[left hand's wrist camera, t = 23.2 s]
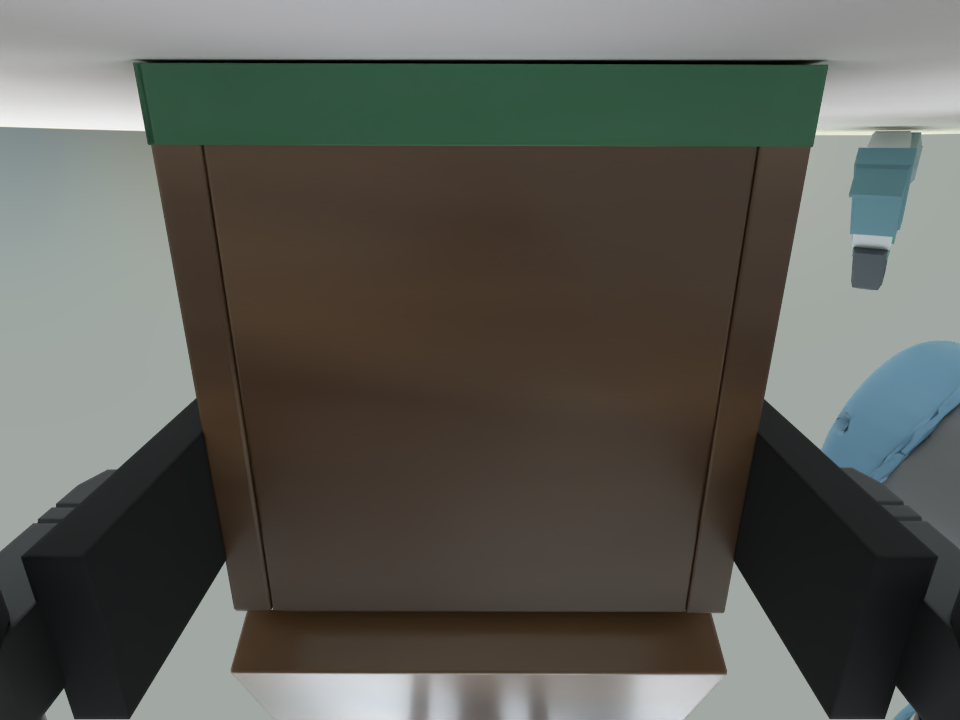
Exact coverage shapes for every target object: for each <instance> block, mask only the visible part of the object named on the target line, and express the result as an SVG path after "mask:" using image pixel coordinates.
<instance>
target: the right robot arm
mask: <svg viewBox="0 0 960 720" xmlns="http://www.w3.org/2000/svg"><path fill="white" fill-rule="evenodd" d="M821 451H822V452H823V453H824V454H825V455H826V456H828V457H829V458H830V459H831V460H832V461H833V462H834V463H835V464H836V465H837V466H839V467H840V468H854V469H856V470H858V471H860V472H861V473H863V474H865V475H867V476H869V477H871V478H873V479H875V480H877V481H879V482H881V483H882V484H883V485H885V486H886V487H887V488H888V489H889V490H891V491H892V492H893V493H894V494H895V495H896V496H898V497H899V498H900V499H901V500H902V501H903V502H904V505H908V506H909V507H911V508H912V509H913V510H914V511H915V512H916V513H918V514H919V515H920V516H921V517H922V521H927V522H928V523H929V524H931V525H932V526H933V527H934V528H935V529H937V530H938V531H939V532H940V533H941V534H942V535H944V536H945V537H946V538H947V539H948V540H949V541H951V542H952V543H953V544H954V545H955V546H957V547H958V548H959V549H960V343H956V342H951V341H928V342H924V343H920V344H917V345H914V346H912V347H909V348H907V349H905V350H903V351H901V352H899V353H898V354H896V355H895V356H893V357H892V358H890V359H889V360H888V361H886V362H885V363H884V364H882V365H881V366H880V367H879V368H878V369H876V370H875V371H874V372H873V373H872V374H871V375H870V376H869V377H868V378H867V379H866V380H865V381H864V382H863V383H862V384H861V386H860V387H859V388H858V389H857V390H856V392H855V393H854V394H853V395H852V397H851V398H850V399H849V401H848V402H847V403H846V405H845V406H844V408H843V409H842V411H841V412H840V414H839V416H838V418H837V420H836V421H835V423H834V424H833V426H832V427H831V429H830V431H829V433H828V435H827V437H826V439H825V441H824V444H823V446H822V449H821ZM915 713H916V711H915V710H914V709H913V707H912V706H911V705H910V704H909V705H907V706H906V707H905V708H904V709H902V710H901V711H900V712H899V713H898V714H897V715H896V716H895V718H894V719H893V720H913V719H914V716H915Z"/></svg>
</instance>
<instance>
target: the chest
mask: <svg viewBox="0 0 960 720" xmlns="http://www.w3.org/2000/svg"><path fill="white" fill-rule="evenodd" d="M133 65H134V70H135V76H136V81H137V87H138V93H139V98H140V104H141V109H142V115H143V120H144V126H145V131H146V137H147V142H148V145H151V146H152V152H153V157H154V163H155V168H156V174H157V179H158V185H159V191H160V196H161V202H162V208H163V213H164V218H165V224H166V230H167V236H168V241H169V247H170V252H171V258H172V263H173V269H174V275H175V280H176V286H177V291H178V297H179V302H180V308H181V314H182V319H183V325H184V330H185V336H186V342H187V347H188V353H189V358H190V364H191V370H192V375H193V381H194V386H195V392H196V398H197V403H198V409H199V414H200V420H201V425H202V431H203V437H204V442H205V448H206V453H207V459H208V464H209V470H210V475H211V481H212V486H213V492H214V497H215V503H216V508H217V514H218V519H219V525H220V530H221V536H222V541H223V547H224V552H225V558H226V565H227V571H228V576H229V582H230V587H231V593H232V599H233V604H234V609H235V610H237V611H269V610H271V609H272V608H273V610H274V611H355V612H684V611H685V610H686V612H687V613H724V611H725V605H726V600H727V595H728V589H729V584H730V579H731V573H732V568H733V562H734V557H735V551H736V546H737V540H738V535H739V529H740V524H741V518H742V513H743V507H744V502H745V497H746V491H747V486H748V480H749V475H750V469H751V464H752V458H753V453H754V447H755V442H756V436H757V432H758V428H759V423H760V417H761V412H762V406H763V401H764V396H765V390H766V385H767V379H768V374H769V369H770V363H771V358H772V352H773V347H774V342H775V336H776V331H777V326H778V320H779V315H780V309H781V304H782V298H783V293H784V288H785V283H786V277H787V272H788V266H789V261H790V256H791V250H792V245H793V239H794V234H795V229H796V223H797V218H798V213H799V207H800V202H801V196H802V191H803V186H804V180H805V175H806V170H807V164H808V159H809V153H810V148H811V147H813V144H814V138H815V133H816V128H817V122H818V117H819V112H820V106H821V101H822V96H823V90H824V85H825V80H826V74H827V69H828V65H712V64H389V63H133Z"/></svg>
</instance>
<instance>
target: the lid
mask: <svg viewBox="0 0 960 720" xmlns="http://www.w3.org/2000/svg"><path fill="white" fill-rule="evenodd" d="M231 673H232V674H233V675H234V677H235V678H236V679H237V680H238V681H239V682H240V683H241V684H242V685H243V686H244V687H245V688H246V690H247V691H248V692H249V693H250V694H251V695H252V696H253V697H254V698H255V699H256V700H257V701H258V703H259V704H260V705H261V706H262V707H263V708H264V709H265V710H266V711H267V712H268V713H269V715H270V716H271V717H272V718H273V719H274V720H685V718H686V717H687V716H688V715H689V714H690V713H691V712H692V711H693V710H694V709H695V708H696V707H697V706H698V705H699V703H700V702H701V701H702V700H703V699H704V698H705V697H706V696H707V695H708V694H709V693H710V692H711V691H712V690H713V688H714V687H715V686H716V685H717V684H718V683H719V682H720V681H721V680H722V679H723V678H724V677H725V676H726V674H727V669H726V666H725V662H724V658H723V655H722V651H721V647H720V644H719V640H718V636H717V633H716V629H715V625H714V622H713V618H712V614H711V613H687V612H686V611H684V612H355V611H274V610H269V611H247V613H246V617H245V621H244V624H243V628H242V631H241V635H240V639H239V642H238V646H237V649H236V653H235V657H234V660H233V664H232V667H231Z"/></svg>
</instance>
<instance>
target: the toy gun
mask: <svg viewBox="0 0 960 720" xmlns="http://www.w3.org/2000/svg"><path fill="white" fill-rule="evenodd" d="M921 151H922V141H921V132H911V131H876V132H875V133H874V134H873V135H872V137H871V139H870V141H869V143H868V146H867V148H859V149H858V153H857V157H856V160H855V164H854V178H853V182H852V186H851V189H850V193H849V197H852V210H851V227H850V234H852V247H854V248H853V254H852V256H853V264H852V278H851V282H852V287H855V288H859V289H868V290H878V289H879V287H880V286H881V285H882V282H883V278H884V274H885V270H886V264H887V259H888V256H889V252H890V249H891V246H892V244H894V241H895V237H896V235H897V233H898V230H899V229H900V227H901V223H902V219H903V214H904V210H905V205H906V200H907V195H908V190H909V186H910V183H911V182H912V181H913V180H914V179H915V175H916V171H917V167H918V163H919V159H920V155H921Z"/></svg>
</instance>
